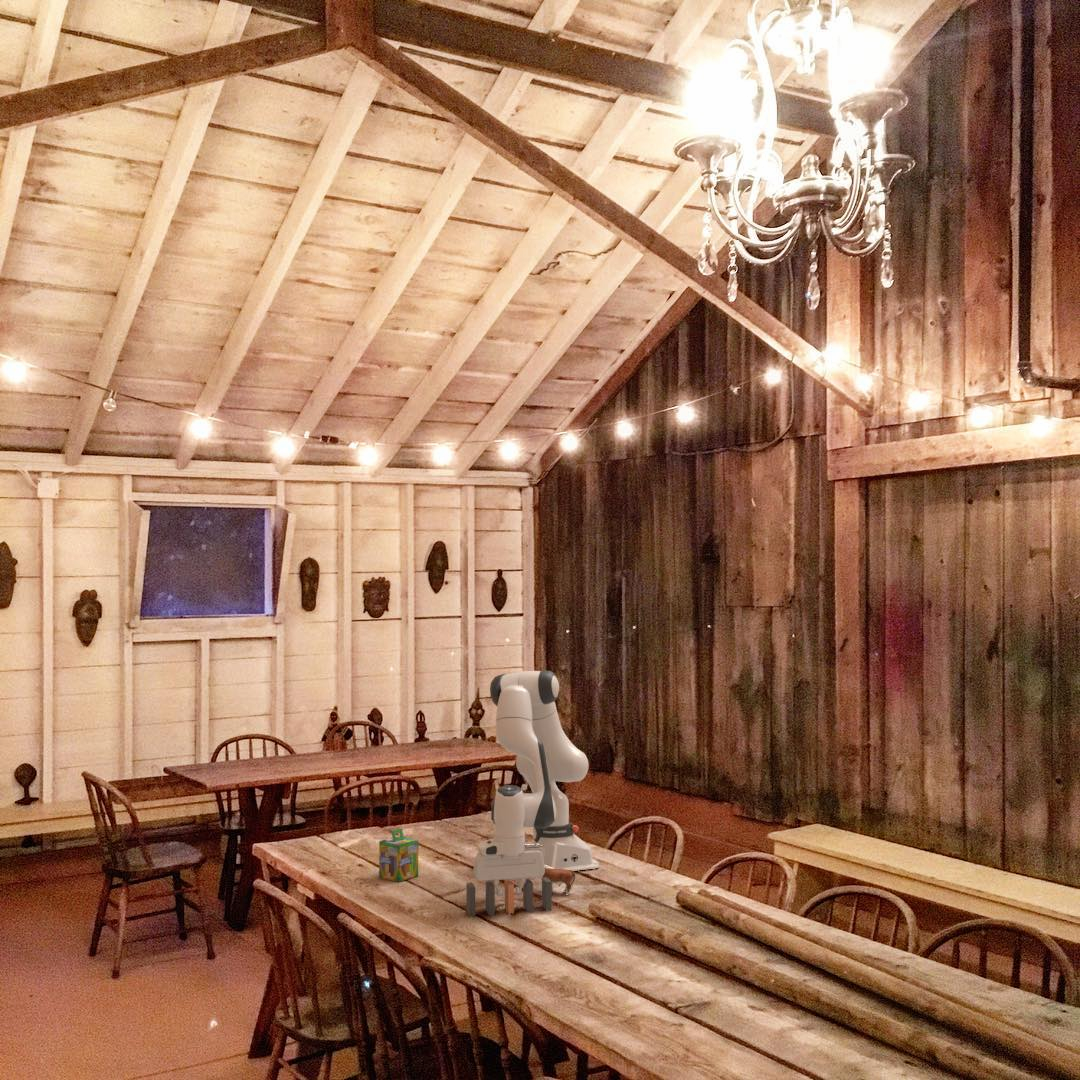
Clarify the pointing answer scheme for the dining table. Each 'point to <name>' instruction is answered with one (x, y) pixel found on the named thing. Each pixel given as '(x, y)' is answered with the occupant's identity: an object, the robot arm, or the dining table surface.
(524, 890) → the domino
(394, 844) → the chalk box
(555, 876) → the bull figurine
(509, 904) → the domino
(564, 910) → the dining table surface
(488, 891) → the domino
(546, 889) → the domino
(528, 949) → the dining table surface
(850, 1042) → the dining table surface
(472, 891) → the domino
